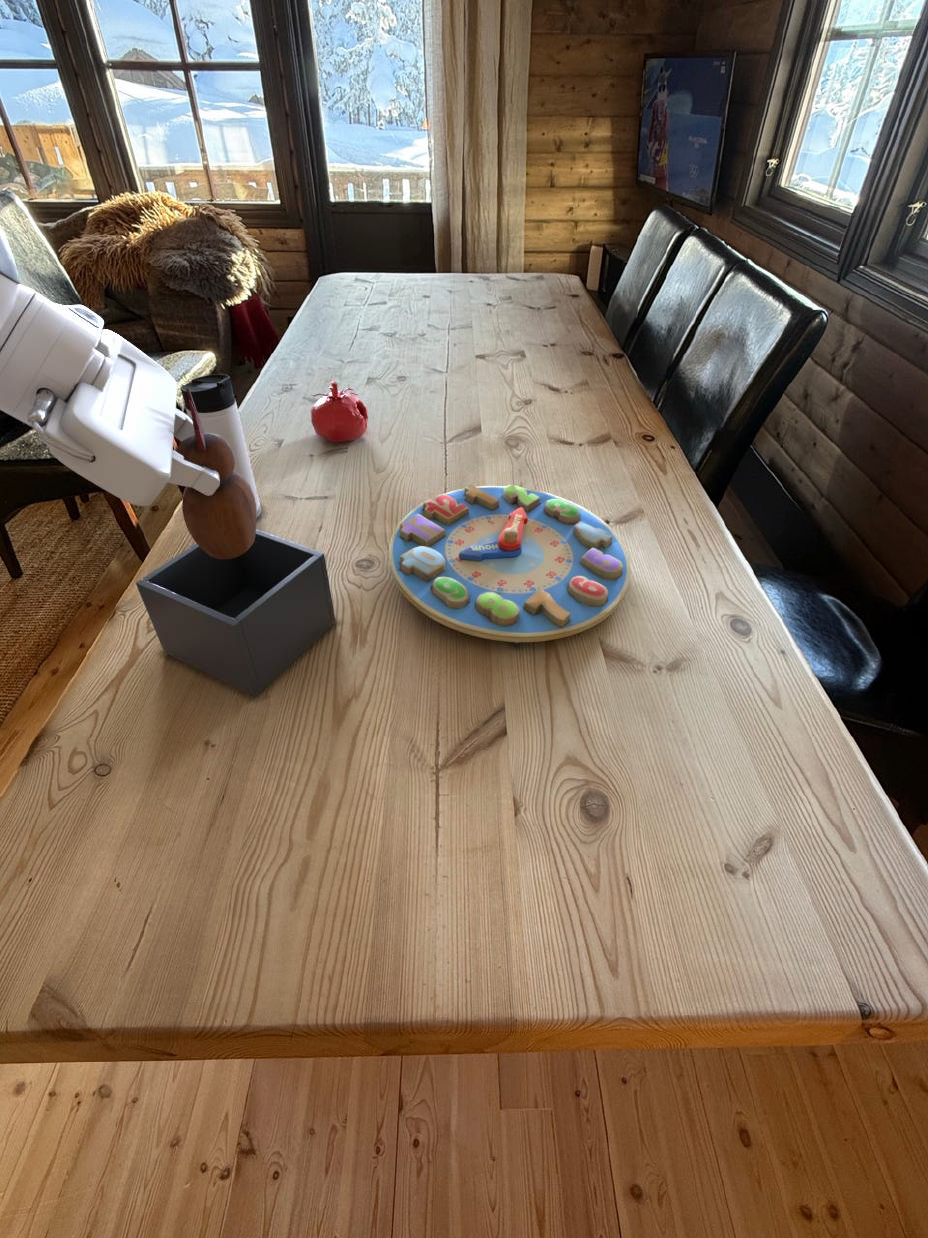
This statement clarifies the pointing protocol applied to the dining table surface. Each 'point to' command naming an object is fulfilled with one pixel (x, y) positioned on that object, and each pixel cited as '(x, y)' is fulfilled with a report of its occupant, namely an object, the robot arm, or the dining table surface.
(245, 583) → the tote
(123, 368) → the robot arm
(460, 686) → the dining table surface
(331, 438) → the pomegranate
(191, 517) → the wooden figurine
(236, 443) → the travel mug
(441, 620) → the shape sorting clock
